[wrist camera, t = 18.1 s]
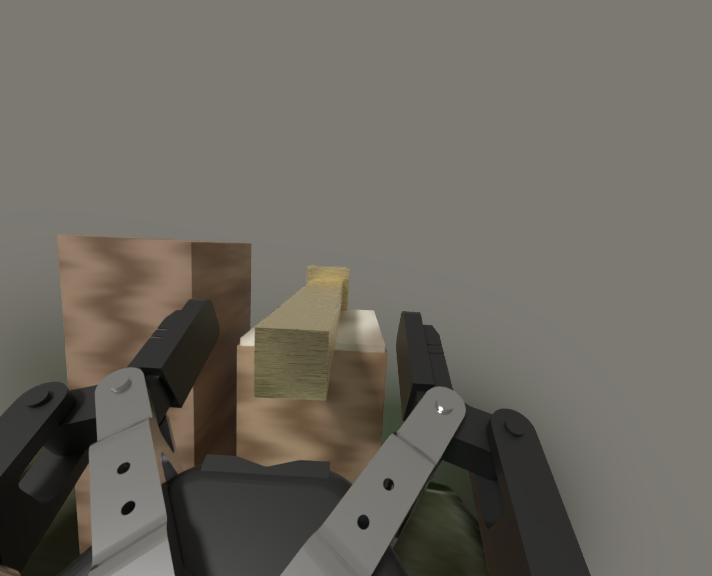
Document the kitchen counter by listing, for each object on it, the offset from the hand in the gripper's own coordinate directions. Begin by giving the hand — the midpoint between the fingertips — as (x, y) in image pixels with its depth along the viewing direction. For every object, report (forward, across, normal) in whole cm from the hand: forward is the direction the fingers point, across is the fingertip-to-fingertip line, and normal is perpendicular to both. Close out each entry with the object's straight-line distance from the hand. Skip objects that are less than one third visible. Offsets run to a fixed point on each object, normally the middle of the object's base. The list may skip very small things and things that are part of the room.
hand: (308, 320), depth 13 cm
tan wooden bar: (+10, -1, -11) cm, 15 cm away
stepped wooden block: (-1, -8, -38) cm, 38 cm away
